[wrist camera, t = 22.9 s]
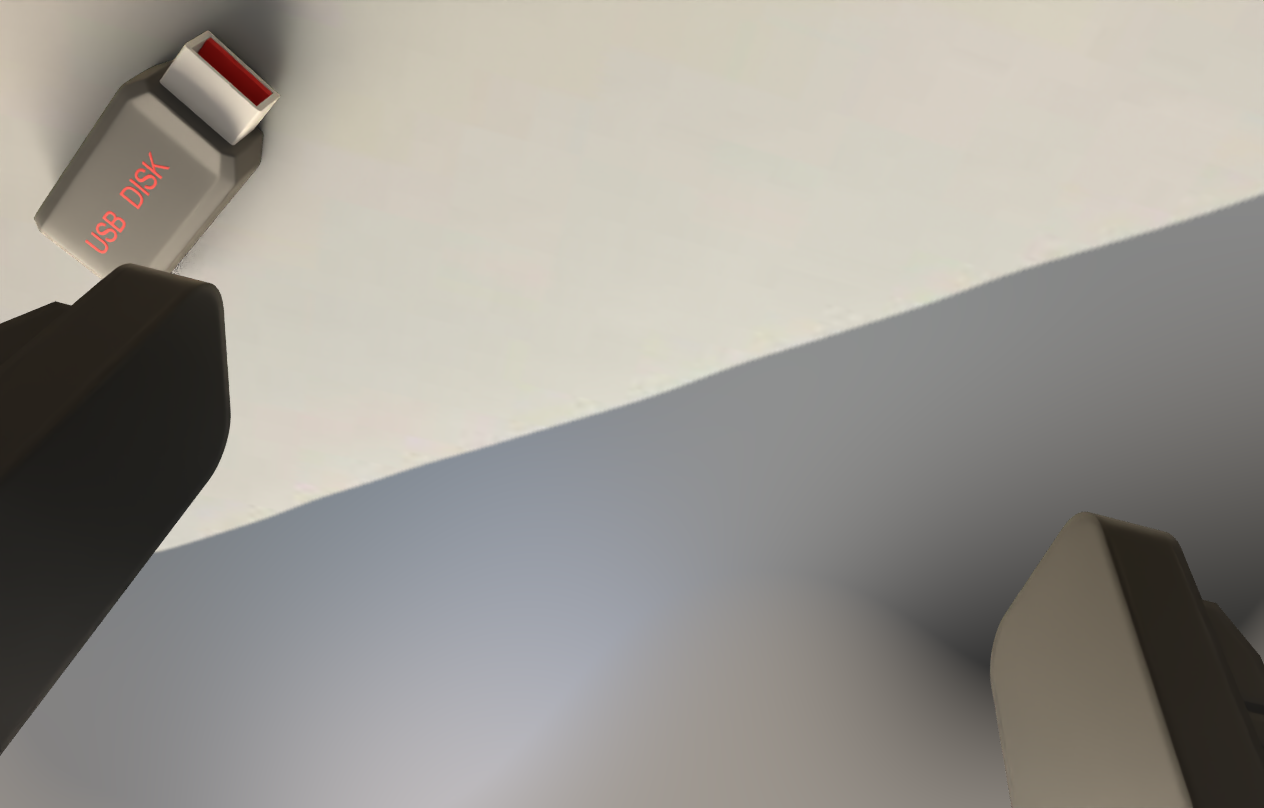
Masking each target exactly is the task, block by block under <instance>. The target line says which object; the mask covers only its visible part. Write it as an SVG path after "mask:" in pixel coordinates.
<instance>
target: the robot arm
mask: <svg viewBox="0 0 1264 808" xmlns="http://www.w3.org/2000/svg"><path fill="white" fill-rule="evenodd" d="M230 418H231V413H230V396H229V381H228V366H227V351H226V337H225V322H224V308H223V301H222V297H221V294H220V292H219V290H218V289H217V288H216V286H214V285H213V284H211V283H207V282H203V281H199V280H195V279H192V278H188V277H184V276H180V275H176V274H172V273H168V272H164V271H160V270H157V269H153V268H149V267H145V266H141V265H137V264H133V263H127V264H123V265H121V266H119V267H117V268H116V269H114V270H113V271H112V272H111V273H109V274H108V275H107V276H106V277H105V278H103V279H102V280H101V281H100V282H99V283H97V284H96V285H95V286H94V287H93V288H92V289H90V290H89V291H88V292H87V293H86V294H84V295H83V296H82V297H81V298H80V299H79V300H77V301H76V302H75V303H74V304H73V305H67V304H63V303H59V302H56V301H55V302H53V303H50V304H48V305H45V306H43V307H40V308H38V309H35V310H33V311H30V312H28V313H26V314H23V315H21V316H18V317H16V318H13V319H11V320H8V321H6V322H3V323H1V324H0V755H1V754H2V752H3V751H4V750H5V749H6V747H7V746H8V744H9V743H10V742H11V741H12V739H13V738H14V737H15V735H16V734H17V733H18V731H19V730H20V729H21V727H22V726H23V725H24V723H25V722H26V721H27V719H28V718H29V717H30V716H31V714H32V713H33V712H34V710H35V709H36V708H37V706H38V705H39V704H40V702H41V701H42V700H43V698H44V697H45V696H46V694H47V693H48V692H49V690H50V689H51V688H52V686H53V685H54V684H55V682H56V681H57V680H58V678H59V677H60V676H61V675H62V673H63V672H64V670H65V669H66V668H67V667H68V665H69V664H70V662H71V661H72V660H73V659H74V657H75V656H76V655H77V653H78V652H79V651H80V650H81V648H82V647H83V646H84V644H85V643H86V642H87V640H88V639H89V638H90V636H91V635H92V634H93V632H94V631H95V630H96V628H97V627H98V626H99V624H100V623H101V622H102V620H103V619H104V618H105V617H106V615H107V614H108V613H109V611H110V610H111V608H112V607H113V606H114V605H115V603H116V602H117V601H118V599H119V598H120V596H121V595H122V594H123V593H124V591H125V590H126V589H127V587H128V586H129V585H130V584H131V582H132V581H133V580H134V578H135V577H136V576H137V574H138V573H139V571H140V570H141V569H142V568H143V566H144V565H145V564H146V562H147V561H148V560H149V558H150V557H151V556H152V554H153V553H154V552H155V551H156V549H157V548H158V547H159V545H160V544H161V543H162V541H163V540H164V539H165V537H166V536H167V535H168V533H169V532H170V531H171V529H172V528H173V527H174V525H175V524H176V523H177V521H178V520H179V519H180V518H181V516H182V515H183V514H184V512H185V511H186V510H187V508H188V507H189V506H190V504H191V503H192V502H193V500H194V499H195V498H196V496H197V495H198V494H199V492H200V491H201V490H202V488H203V487H204V486H205V485H206V483H207V482H208V481H209V479H210V478H211V476H212V475H213V473H214V471H215V470H216V468H217V466H218V464H219V462H220V459H221V457H222V454H223V452H224V449H225V446H226V442H227V438H228V434H229V428H230ZM990 679H991V687H992V693H993V699H994V705H995V710H996V717H997V722H998V728H999V735H1000V741H1001V747H1002V752H1003V759H1004V765H1005V771H1006V777H1007V783H1008V789H1009V794H1010V801H1011V807H1012V808H1264V664H1263V662H1262V659H1261V657H1260V655H1259V654H1258V653H1257V652H1256V651H1255V649H1254V648H1253V647H1252V646H1251V645H1250V643H1249V642H1248V641H1247V640H1246V639H1245V637H1244V636H1243V635H1242V634H1241V633H1240V631H1239V630H1238V629H1237V628H1236V627H1235V625H1234V624H1233V623H1232V622H1231V620H1230V619H1229V618H1228V617H1227V616H1226V615H1225V613H1224V612H1223V611H1222V610H1221V608H1220V607H1219V606H1218V605H1217V604H1216V603H1213V602H1209V601H1205V600H1202V598H1201V596H1200V593H1199V591H1198V588H1197V586H1196V583H1195V581H1194V578H1193V576H1192V574H1191V571H1190V569H1189V567H1188V564H1187V562H1186V559H1185V557H1184V554H1183V552H1182V549H1181V547H1180V545H1179V543H1178V541H1176V539H1175V538H1174V537H1173V536H1172V535H1170V534H1169V533H1167V532H1164V531H1160V530H1156V529H1152V528H1148V527H1144V526H1140V525H1136V524H1133V523H1129V522H1125V521H1121V520H1117V519H1113V518H1109V517H1106V516H1102V515H1098V514H1093V513H1090V512H1081V513H1078V514H1076V515H1075V516H1073V517H1072V518H1071V519H1070V520H1069V521H1068V522H1067V523H1066V524H1065V526H1064V527H1063V528H1062V530H1061V531H1060V533H1059V534H1058V536H1057V537H1056V539H1055V540H1054V542H1053V543H1052V545H1051V546H1050V548H1049V549H1048V551H1047V552H1046V554H1045V555H1044V556H1043V558H1042V559H1041V561H1040V563H1039V564H1038V565H1037V567H1036V568H1035V570H1034V571H1033V573H1032V574H1031V576H1030V578H1029V579H1028V580H1027V582H1026V583H1025V585H1024V586H1023V588H1022V589H1021V591H1020V592H1019V594H1018V595H1017V597H1016V598H1015V600H1014V601H1013V603H1012V604H1011V606H1010V607H1009V609H1008V610H1007V612H1006V613H1005V615H1004V617H1003V618H1002V620H1001V622H1000V625H999V627H998V630H997V632H996V635H995V639H994V643H993V648H992V653H991V662H990Z"/></svg>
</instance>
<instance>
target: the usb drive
mask: <svg viewBox="0 0 1264 808" xmlns="http://www.w3.org/2000/svg"><path fill="white" fill-rule="evenodd" d="M279 97H280V95H279V94H278V93H277V92H276V91H275V90H274V89H272V88H271V87H270V86H269V85H268V84H267V83H266V82H265V81H264V80H263V79H261V78H260V77H259V76H258V75H257V74H256V73H255V72H254V71H253V70H252V69H250V68H249V67H248V66H247V65H246V64H245V63H244V62H243V61H242V60H241V59H239V58H238V57H237V56H236V55H235V54H234V53H233V52H232V51H231V50H230V49H228V48H227V47H226V46H225V45H224V44H223V43H222V42H221V41H220V40H219V39H217V38H216V37H215V36H214V35H213V34H212V33H211V32H210V31H206V32H204V33H202V34H201V35H199V36H197V37H196V38H194V39H192V40H191V41H189V42H187V43H186V44H185V45H184V47H183V48H182V49H181V51H180V52H179V54H178V55H177V57H176V58H175V60H171V61H168V62H165V63H162V64H159V65H156V66H153V67H151V68H149V69H147V70H145V71H144V72H142V73H140V74H139V75H137V76H135V77H134V78H132V79H130V80H129V81H127V82H126V83H124V84H123V85H122V86H121V87H120V88H119V90H118V91H117V92H116V94H115V95H114V97H113V98H112V100H111V101H110V103H109V104H108V106H107V107H106V109H105V110H104V112H103V113H102V115H101V116H100V118H99V119H98V121H97V122H96V124H95V125H94V127H93V128H92V130H91V131H90V133H89V134H88V136H87V137H86V139H85V140H84V142H83V144H82V145H81V147H80V148H79V150H78V151H77V153H76V154H75V156H74V157H73V159H72V160H71V162H70V163H69V165H68V166H67V168H66V169H65V171H64V172H63V174H62V175H61V177H60V178H59V180H58V181H57V183H56V184H55V186H54V187H53V189H52V190H51V192H50V193H49V195H48V196H47V198H46V199H45V201H44V202H43V204H42V205H41V207H40V208H39V210H38V212H37V213H36V215H35V217H34V220H35V222H36V224H37V226H38V228H39V231H40V232H41V233H42V234H44V235H45V236H46V237H47V238H49V239H50V240H51V241H53V242H54V243H55V244H56V245H58V246H59V247H60V248H62V249H63V250H64V251H65V252H67V253H68V254H69V255H71V256H72V257H73V258H75V259H76V260H77V261H78V262H80V263H81V264H82V265H84V266H85V267H86V268H88V269H89V270H90V271H91V272H93V273H94V274H95V275H97V276H98V277H99V278H100V279H103V278H105V277H106V276H107V275H108V274H109V273H111V272H112V271H113V270H114V269H116V268H117V267H119V266H121V265H123V264H127V263H133V264H137V265H141V266H145V267H149V268H153V269H157V270H160V271H164V272H168V273H171V272H172V271H173V270H174V268H175V267H176V266H177V265H178V264H179V262H180V261H181V260H182V259H183V257H184V256H185V255H186V254H187V253H188V251H189V250H190V249H191V248H192V247H193V245H194V244H195V243H196V242H197V240H198V239H199V238H200V237H201V236H202V234H203V233H204V232H205V231H206V229H207V228H208V227H209V226H210V225H211V223H212V222H213V221H214V220H215V219H216V217H217V216H218V215H219V214H220V212H221V211H222V210H223V209H224V208H225V206H226V205H227V204H228V203H229V202H230V200H231V199H232V198H233V197H234V195H235V194H236V193H237V192H238V191H239V189H240V188H241V187H242V186H243V185H244V183H245V182H246V181H247V180H248V178H249V177H250V176H251V175H252V174H253V172H254V171H255V170H256V168H257V167H258V166H259V164H260V162H261V154H262V143H263V133H262V132H261V131H260V130H259V129H258V128H257V127H256V126H257V125H258V123H259V122H260V121H261V120H262V118H263V117H264V116H265V115H266V113H267V112H268V111H269V110H270V108H271V107H272V106H273V105H274V103H275V102H276V101H277V100H278V98H279Z"/></svg>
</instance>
